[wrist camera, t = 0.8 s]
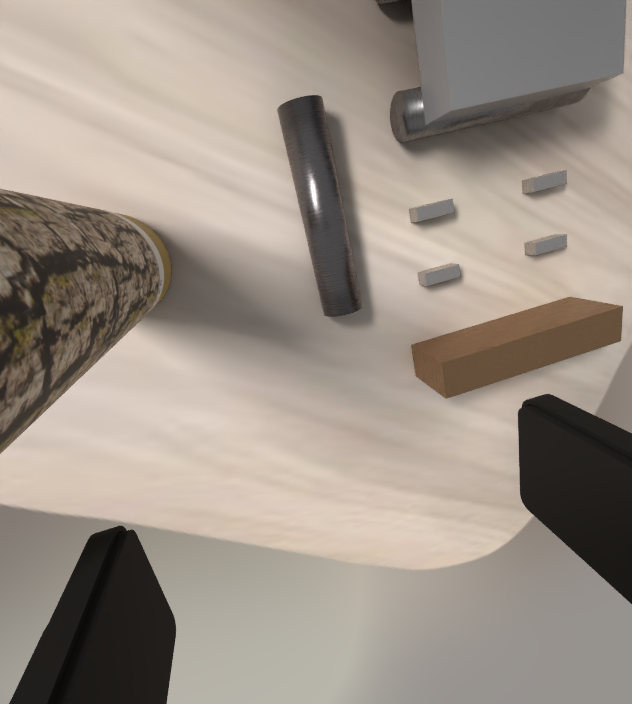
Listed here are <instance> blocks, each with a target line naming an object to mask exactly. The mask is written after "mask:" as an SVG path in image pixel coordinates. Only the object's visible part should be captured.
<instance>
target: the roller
mask: <svg viewBox="0 0 632 704" xmlns="http://www.w3.org/2000/svg"><path fill="white" fill-rule="evenodd" d="M277 111H278V115H279V120H280V124H281V128H282V133H283V137H284V141H285V146H286V150H287V155H288V159H289V163H290V168H291V172H292V176H293V181H294V185H295V189H296V194H297V198H298V203H299V207H300V211H301V216H302V220H303V224H304V229H305V233H306V238H307V242H308V246H309V251H310V255H311V259H312V264H313V268H314V272H315V277H316V281H317V286H318V290H319V294H320V299H321V303H322V307H323V312H324V315H325V316H330V317H332V316H341V315H346V314H350V313H353V312H355V311H357V310H359V309H361V308H362V303H361V297H360V292H359V287H358V282H357V277H356V271H355V266H354V261H353V256H352V250H351V245H350V240H349V235H348V230H347V224H346V219H345V214H344V209H343V204H342V198H341V193H340V188H339V183H338V177H337V172H336V167H335V162H334V157H333V151H332V146H331V141H330V136H329V131H328V125H327V120H326V115H325V110H324V104H323V99H322V97H321V96H318V95H310V96H304V97H300V98H296V99H293V100H290V101H288V102H286V103H284V104H282V105H281V106H279V107H278V109H277Z"/></svg>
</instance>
